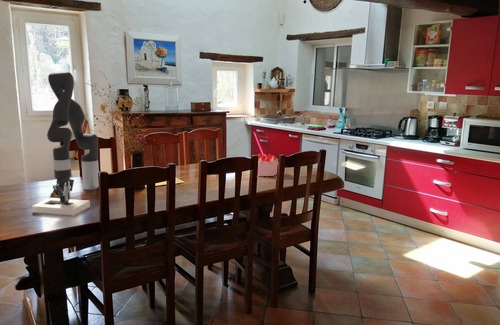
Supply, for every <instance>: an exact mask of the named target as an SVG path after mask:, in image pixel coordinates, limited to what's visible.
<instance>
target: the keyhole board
mask: <svg viewBox="0 0 500 325" xmlns="http://www.w3.org/2000/svg"><path fill="white" fill-rule="evenodd" d="M31 206H32V207H31V210H32V211H31V212H32V214H39V215H40V214H41V215H51V216H52V215H54V216H66V217H76V216H77V215H79V214H81V213H82V212H84V211H86V210H88V209H89V208H91V202H90V200H87V199H86V200H83V199H72V198H70V200H69V205H62V203H61V202H60V198H50V197H49V198H47V199H44V200H42V201H40V202H38V203H36V204H34V205H31Z"/></svg>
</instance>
